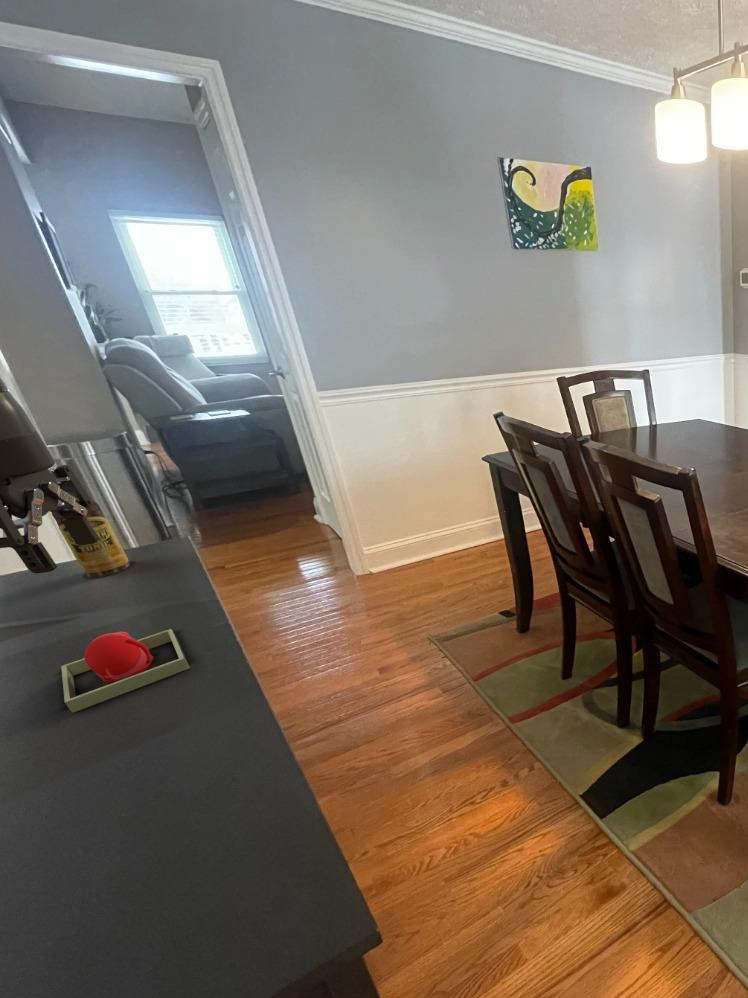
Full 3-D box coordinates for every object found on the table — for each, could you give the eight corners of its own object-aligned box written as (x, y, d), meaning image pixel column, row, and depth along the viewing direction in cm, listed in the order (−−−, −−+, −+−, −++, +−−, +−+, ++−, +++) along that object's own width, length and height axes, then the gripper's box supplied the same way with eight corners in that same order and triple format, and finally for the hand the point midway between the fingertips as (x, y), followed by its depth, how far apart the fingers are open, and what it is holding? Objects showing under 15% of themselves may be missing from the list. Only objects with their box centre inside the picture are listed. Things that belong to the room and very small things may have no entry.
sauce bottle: (89, 585, 110) (24, 483, 100) (87, 575, 113) (24, 476, 104) (137, 571, 114) (78, 472, 104) (133, 562, 118) (76, 466, 108)
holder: (72, 713, 77) (64, 702, 76) (68, 676, 85) (60, 666, 84) (190, 668, 85) (183, 658, 84) (177, 638, 92) (171, 628, 91)
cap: (164, 670, 85) (142, 636, 82) (107, 694, 80) (82, 658, 78) (149, 652, 89) (127, 618, 86) (94, 673, 85) (70, 639, 82)
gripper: (-6, 424, 75) (68, 540, 83) (-109, 455, 63) (-11, 587, 70) (68, 417, 77) (134, 531, 84) (-18, 446, 65) (68, 576, 72)
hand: (68, 556), depth 77 cm, fingers open, 8 cm apart
